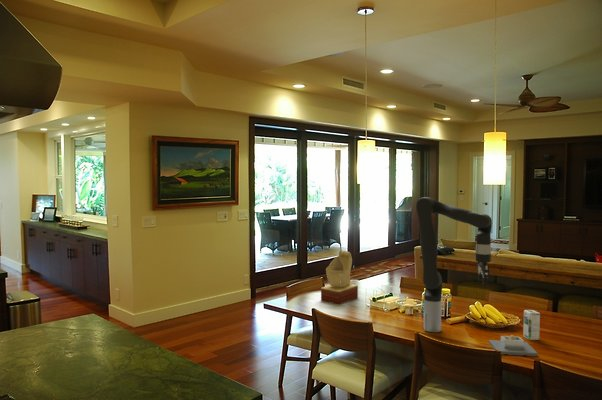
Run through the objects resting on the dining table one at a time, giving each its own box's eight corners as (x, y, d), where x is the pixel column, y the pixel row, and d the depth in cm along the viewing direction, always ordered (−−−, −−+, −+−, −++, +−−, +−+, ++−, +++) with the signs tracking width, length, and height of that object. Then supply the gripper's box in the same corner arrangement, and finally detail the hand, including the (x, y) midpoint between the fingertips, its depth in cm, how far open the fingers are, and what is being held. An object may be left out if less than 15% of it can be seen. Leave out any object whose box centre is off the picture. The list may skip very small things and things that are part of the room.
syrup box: (522, 336, 230) (523, 309, 230) (533, 336, 231) (533, 309, 230) (529, 340, 225) (529, 313, 224) (540, 339, 225) (540, 312, 225)
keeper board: (497, 354, 206) (497, 339, 206) (488, 342, 221) (489, 329, 221) (537, 356, 204) (537, 341, 203) (526, 344, 218) (526, 331, 218)
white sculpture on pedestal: (340, 293, 325) (340, 247, 324) (360, 297, 314) (360, 250, 313) (320, 300, 307) (320, 251, 305) (341, 304, 295) (340, 254, 294)
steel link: (504, 348, 210) (504, 340, 210) (500, 343, 216) (500, 335, 216) (523, 349, 209) (524, 340, 209) (519, 344, 215) (519, 336, 215)
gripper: (472, 250, 232) (472, 280, 233) (479, 254, 218) (478, 286, 219) (487, 250, 231) (486, 280, 232) (494, 254, 217) (494, 286, 218)
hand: (483, 283), depth 225 cm, fingers open, 8 cm apart
